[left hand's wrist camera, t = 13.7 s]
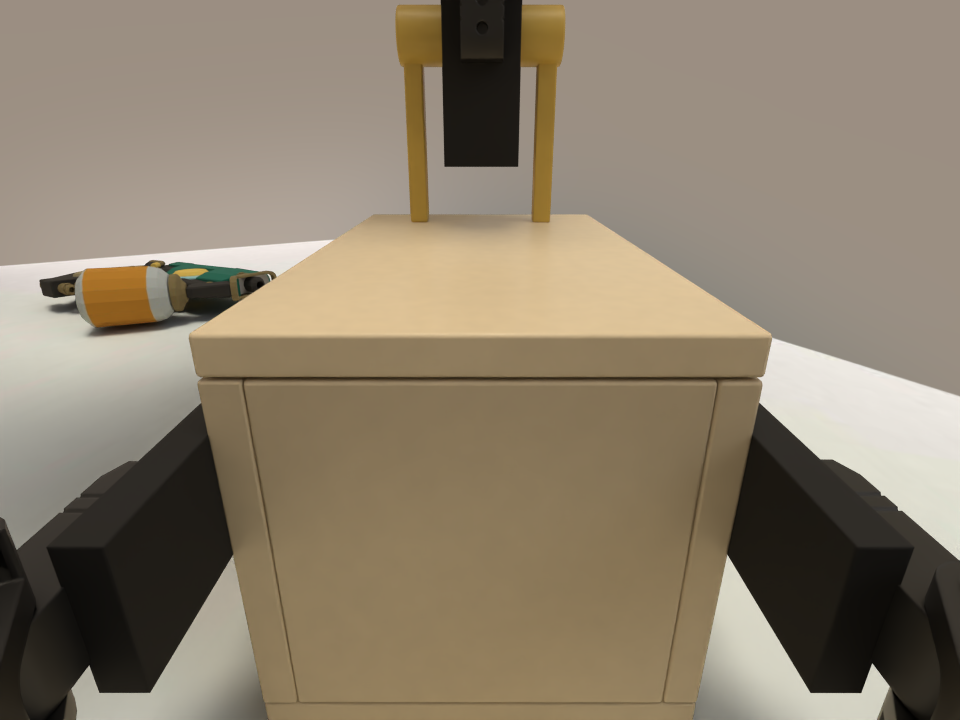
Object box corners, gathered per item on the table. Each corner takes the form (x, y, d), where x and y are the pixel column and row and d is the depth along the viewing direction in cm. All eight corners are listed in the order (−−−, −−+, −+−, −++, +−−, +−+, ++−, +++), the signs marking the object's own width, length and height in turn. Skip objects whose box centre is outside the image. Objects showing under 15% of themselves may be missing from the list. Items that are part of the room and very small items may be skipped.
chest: (384, 407, 28) (372, 235, 25) (575, 407, 28) (588, 234, 25) (268, 727, 13) (194, 381, 9) (692, 727, 13) (765, 381, 9)
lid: (373, 232, 25) (358, 20, 22) (586, 232, 25) (601, 20, 22) (194, 379, 9) (53, -297, 6) (766, 379, 9) (908, -296, 6)
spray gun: (44, 306, 47) (224, 285, 57) (65, 344, 35) (289, 309, 45) (31, 257, 46) (217, 243, 55) (48, 279, 34) (283, 257, 43)
